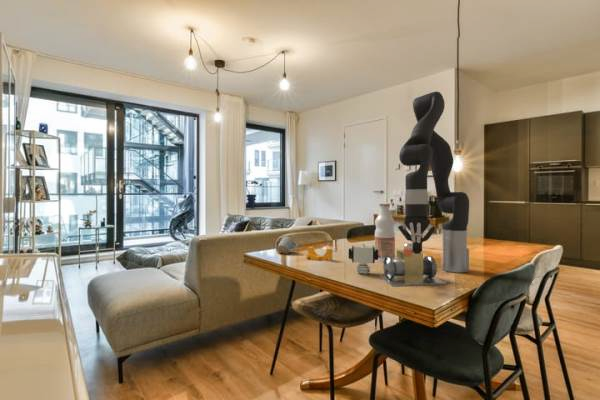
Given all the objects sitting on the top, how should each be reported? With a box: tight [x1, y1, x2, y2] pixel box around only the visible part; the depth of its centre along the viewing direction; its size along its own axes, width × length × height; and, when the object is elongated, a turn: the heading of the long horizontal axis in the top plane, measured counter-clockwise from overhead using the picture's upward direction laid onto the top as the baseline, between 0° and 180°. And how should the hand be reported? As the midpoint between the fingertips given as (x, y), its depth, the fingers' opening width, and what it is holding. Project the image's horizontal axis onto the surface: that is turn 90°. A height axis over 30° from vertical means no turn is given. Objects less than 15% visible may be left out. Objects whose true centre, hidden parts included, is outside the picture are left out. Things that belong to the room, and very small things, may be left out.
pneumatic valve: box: [348, 243, 378, 275], centre depth 129 cm, size 6×12×12 cm, turn 79°
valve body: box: [378, 249, 448, 287], centre depth 117 cm, size 20×13×11 cm, turn 97°
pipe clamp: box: [305, 246, 333, 262], centre depth 154 cm, size 12×4×6 cm, turn 63°
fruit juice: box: [374, 203, 396, 264], centre depth 153 cm, size 9×9×28 cm
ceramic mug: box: [276, 236, 299, 254], centre depth 170 cm, size 11×8×8 cm
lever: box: [403, 242, 413, 257], centre depth 113 cm, size 4×16×2 cm, turn 158°
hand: (417, 253), depth 108 cm, fingers closed
